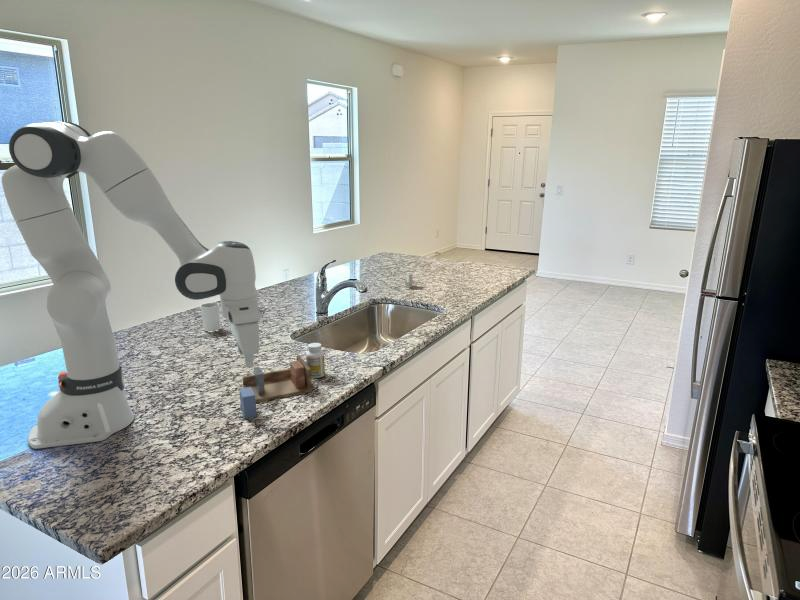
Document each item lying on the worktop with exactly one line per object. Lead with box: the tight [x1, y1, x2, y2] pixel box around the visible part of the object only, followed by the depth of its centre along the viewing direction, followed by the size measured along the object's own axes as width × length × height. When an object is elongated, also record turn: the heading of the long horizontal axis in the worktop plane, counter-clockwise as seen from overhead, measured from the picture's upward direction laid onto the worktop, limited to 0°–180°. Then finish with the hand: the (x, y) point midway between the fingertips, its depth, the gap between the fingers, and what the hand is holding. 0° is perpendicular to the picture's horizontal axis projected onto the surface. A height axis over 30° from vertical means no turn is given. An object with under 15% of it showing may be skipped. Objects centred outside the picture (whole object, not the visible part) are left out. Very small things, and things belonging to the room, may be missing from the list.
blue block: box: [238, 387, 258, 420], centre depth 139 cm, size 3×6×6 cm, turn 26°
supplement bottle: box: [305, 342, 326, 379], centre depth 162 cm, size 5×5×10 cm
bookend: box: [253, 366, 265, 395], centre depth 149 cm, size 2×6×6 cm, turn 26°
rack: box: [241, 355, 313, 403], centre depth 152 cm, size 17×12×7 cm
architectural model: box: [402, 272, 413, 289], centre depth 265 cm, size 3×7×7 cm, turn 163°
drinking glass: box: [199, 301, 221, 332], centre depth 202 cm, size 7×7×10 cm
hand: (245, 359), depth 136 cm, fingers open, 8 cm apart
